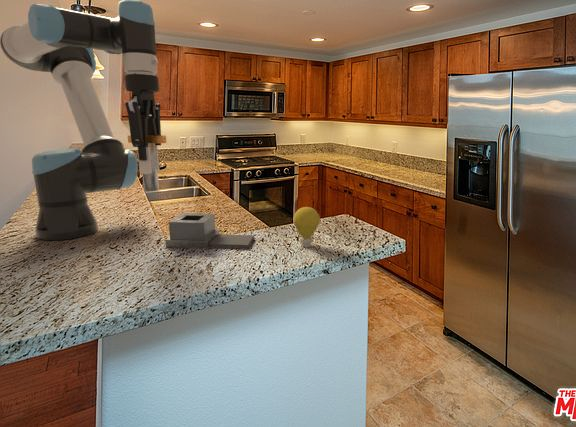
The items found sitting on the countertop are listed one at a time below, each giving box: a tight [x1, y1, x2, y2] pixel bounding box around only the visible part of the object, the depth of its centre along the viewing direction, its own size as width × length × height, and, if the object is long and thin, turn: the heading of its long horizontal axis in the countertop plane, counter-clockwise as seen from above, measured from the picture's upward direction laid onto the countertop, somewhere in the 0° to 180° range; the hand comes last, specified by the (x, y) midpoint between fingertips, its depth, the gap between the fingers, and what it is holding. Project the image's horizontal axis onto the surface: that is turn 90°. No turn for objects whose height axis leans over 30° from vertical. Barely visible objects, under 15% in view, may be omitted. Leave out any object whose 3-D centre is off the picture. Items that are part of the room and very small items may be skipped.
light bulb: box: [292, 206, 321, 248], centre depth 92 cm, size 7×7×10 cm
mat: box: [209, 233, 255, 250], centre depth 95 cm, size 10×8×1 cm
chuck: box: [164, 212, 221, 250], centre depth 95 cm, size 11×10×6 cm
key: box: [127, 134, 167, 192], centre depth 93 cm, size 9×4×14 cm, turn 84°
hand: (149, 172), depth 93 cm, fingers closed on key, 4 cm apart
